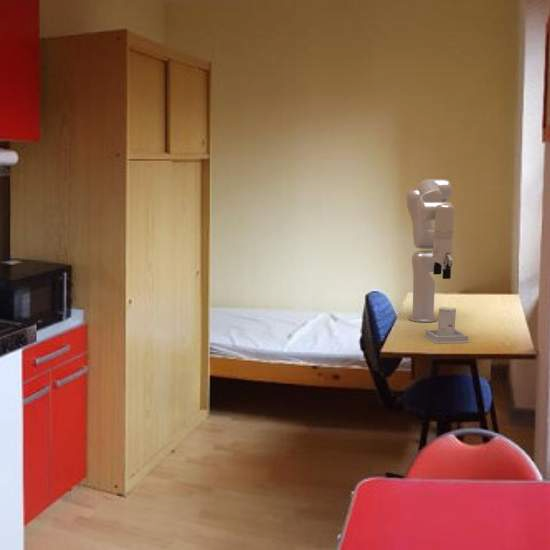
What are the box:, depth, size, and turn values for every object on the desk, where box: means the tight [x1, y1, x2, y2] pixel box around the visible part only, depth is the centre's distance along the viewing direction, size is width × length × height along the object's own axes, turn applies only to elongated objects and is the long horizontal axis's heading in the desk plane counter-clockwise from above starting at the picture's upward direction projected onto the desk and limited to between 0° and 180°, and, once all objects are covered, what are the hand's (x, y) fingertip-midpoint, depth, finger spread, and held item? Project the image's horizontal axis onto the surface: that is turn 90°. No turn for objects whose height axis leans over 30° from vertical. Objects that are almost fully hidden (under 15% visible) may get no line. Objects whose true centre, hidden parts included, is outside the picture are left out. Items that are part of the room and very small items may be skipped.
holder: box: [424, 329, 469, 344], centre depth 316 cm, size 13×13×3 cm
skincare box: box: [437, 306, 457, 336], centre depth 316 cm, size 6×4×12 cm
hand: (441, 276), depth 320 cm, fingers open, 9 cm apart
